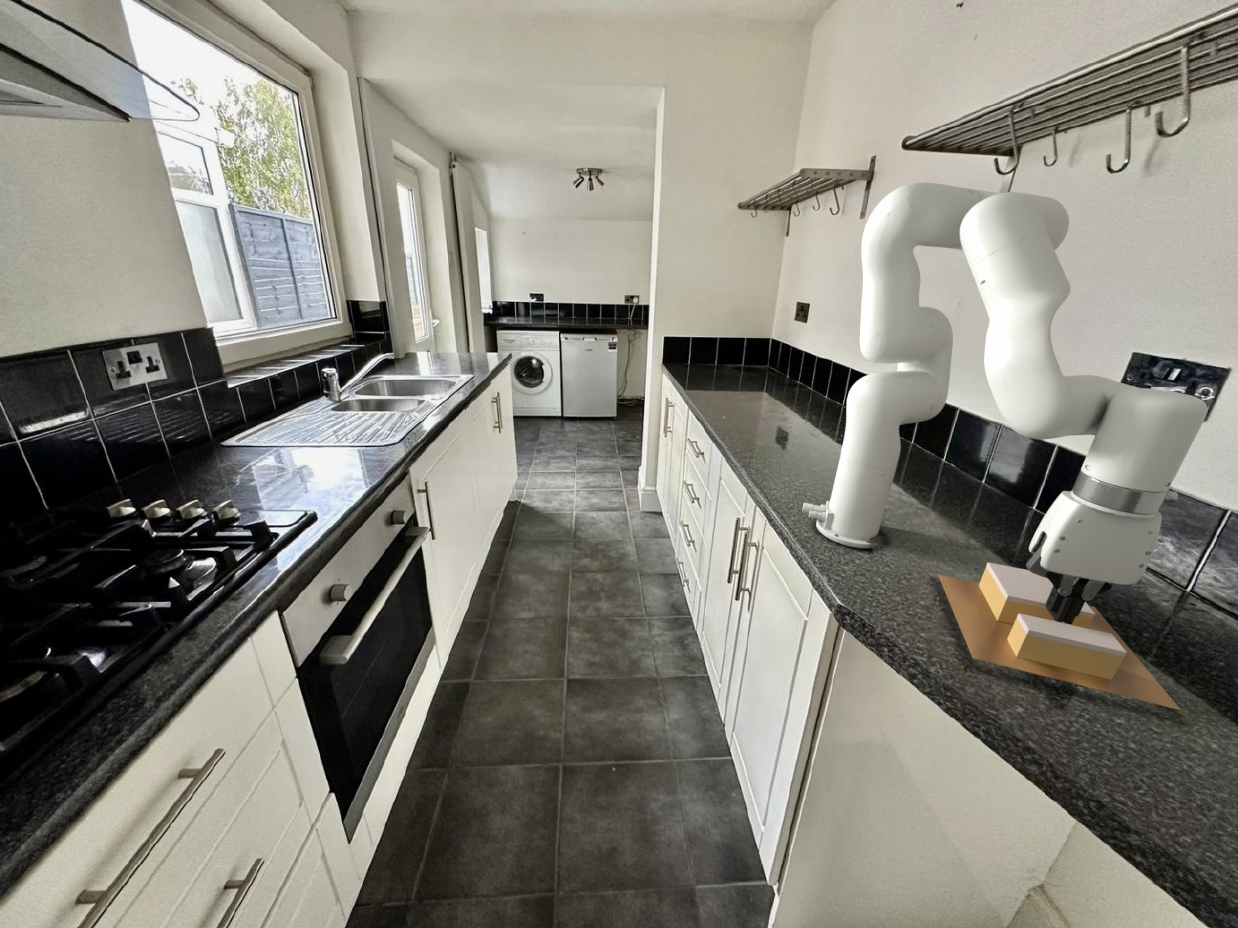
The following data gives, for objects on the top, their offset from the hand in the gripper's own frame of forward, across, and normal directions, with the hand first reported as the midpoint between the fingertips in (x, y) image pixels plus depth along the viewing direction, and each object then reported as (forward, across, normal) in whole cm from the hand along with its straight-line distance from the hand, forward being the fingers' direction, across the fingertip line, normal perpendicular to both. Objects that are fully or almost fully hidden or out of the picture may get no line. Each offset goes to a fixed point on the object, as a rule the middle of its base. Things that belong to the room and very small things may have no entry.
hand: (1058, 616), depth 65 cm
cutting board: (+6, 0, -2) cm, 6 cm away
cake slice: (+4, 0, +4) cm, 6 cm away
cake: (+4, 0, -7) cm, 8 cm away
